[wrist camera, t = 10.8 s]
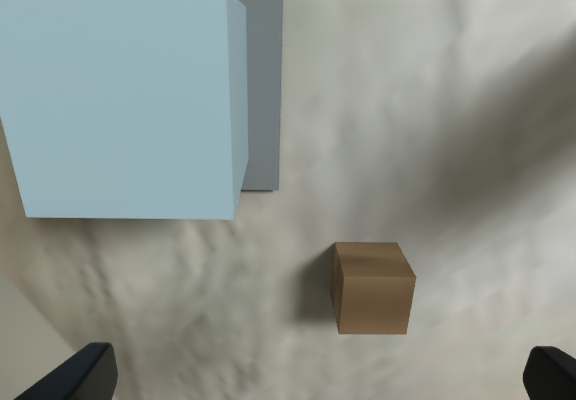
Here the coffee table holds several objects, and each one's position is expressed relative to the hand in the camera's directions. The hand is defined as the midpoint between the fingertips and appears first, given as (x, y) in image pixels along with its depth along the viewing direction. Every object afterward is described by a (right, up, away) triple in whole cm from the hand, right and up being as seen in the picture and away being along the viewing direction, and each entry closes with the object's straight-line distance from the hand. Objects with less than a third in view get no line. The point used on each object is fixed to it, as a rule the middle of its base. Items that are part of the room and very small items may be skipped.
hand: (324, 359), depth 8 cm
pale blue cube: (-6, +9, +10) cm, 14 cm away
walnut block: (+4, -1, +15) cm, 15 cm away
